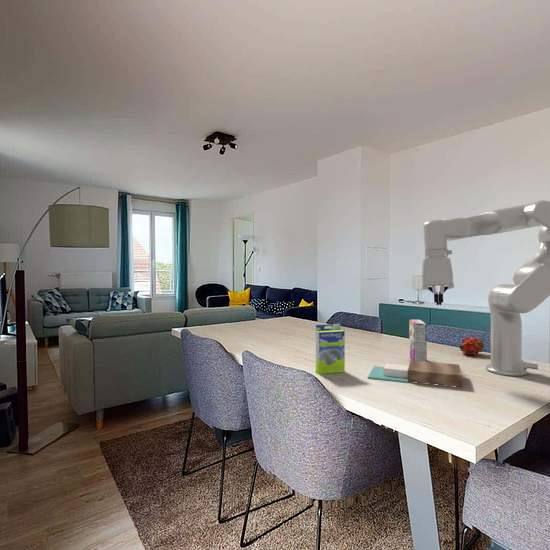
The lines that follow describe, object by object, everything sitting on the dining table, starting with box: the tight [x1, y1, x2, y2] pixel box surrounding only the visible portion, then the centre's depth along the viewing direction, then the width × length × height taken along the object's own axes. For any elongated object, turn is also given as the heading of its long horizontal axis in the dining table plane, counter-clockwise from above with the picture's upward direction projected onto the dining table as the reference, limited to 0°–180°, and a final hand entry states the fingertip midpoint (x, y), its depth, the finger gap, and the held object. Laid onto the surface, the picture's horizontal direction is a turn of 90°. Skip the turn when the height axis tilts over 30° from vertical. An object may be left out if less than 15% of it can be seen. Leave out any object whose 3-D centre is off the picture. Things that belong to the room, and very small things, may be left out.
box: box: [314, 323, 346, 375], centre depth 134 cm, size 10×4×17 cm, turn 106°
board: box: [408, 359, 463, 388], centre depth 124 cm, size 16×14×4 cm
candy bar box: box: [408, 319, 428, 362], centre depth 147 cm, size 11×5×16 cm, turn 168°
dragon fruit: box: [459, 335, 485, 357], centre depth 159 cm, size 8×8×12 cm
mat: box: [367, 365, 409, 383], centre depth 130 cm, size 13×15×1 cm
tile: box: [383, 363, 409, 378], centre depth 129 cm, size 8×7×2 cm
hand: (438, 304), depth 134 cm, fingers closed
